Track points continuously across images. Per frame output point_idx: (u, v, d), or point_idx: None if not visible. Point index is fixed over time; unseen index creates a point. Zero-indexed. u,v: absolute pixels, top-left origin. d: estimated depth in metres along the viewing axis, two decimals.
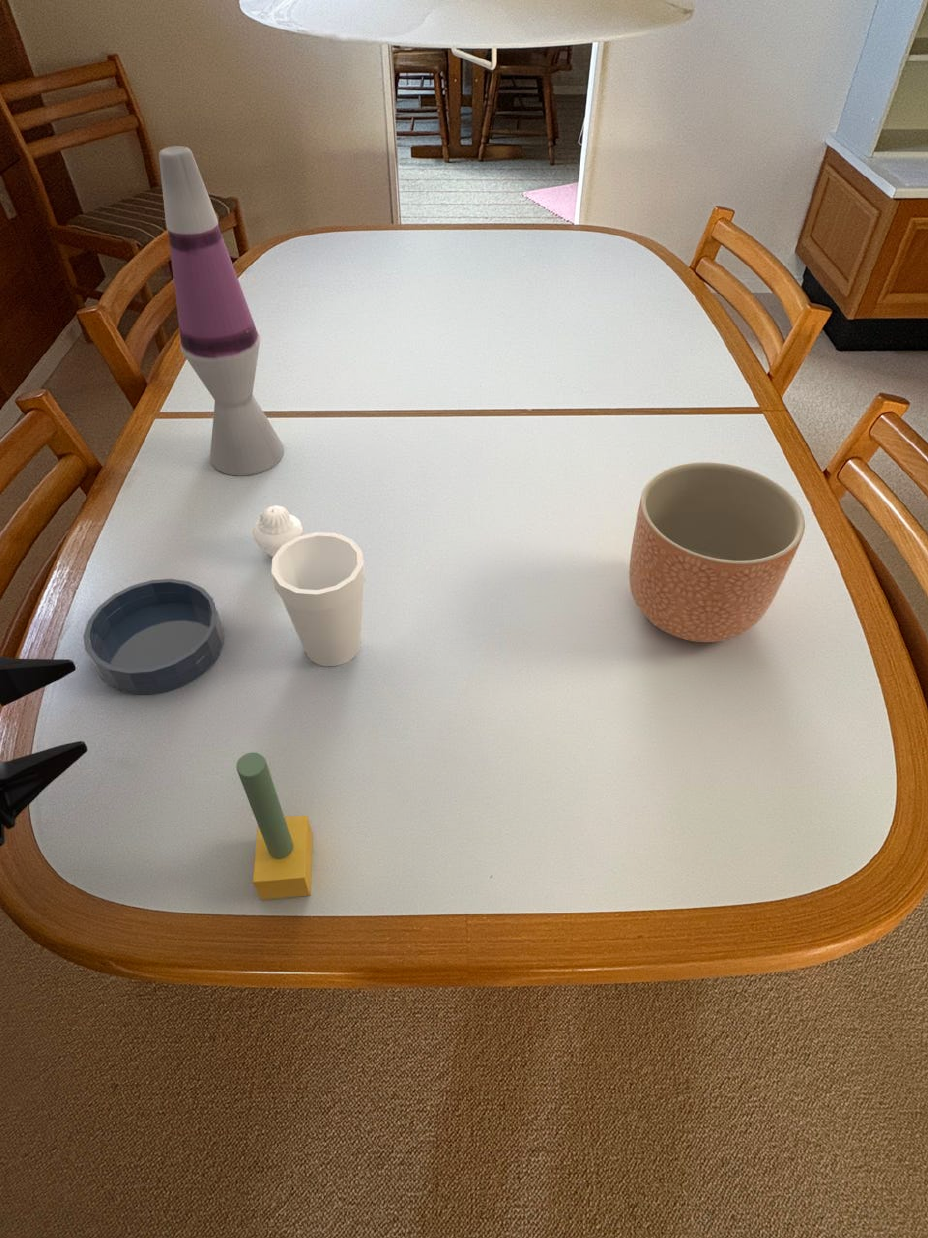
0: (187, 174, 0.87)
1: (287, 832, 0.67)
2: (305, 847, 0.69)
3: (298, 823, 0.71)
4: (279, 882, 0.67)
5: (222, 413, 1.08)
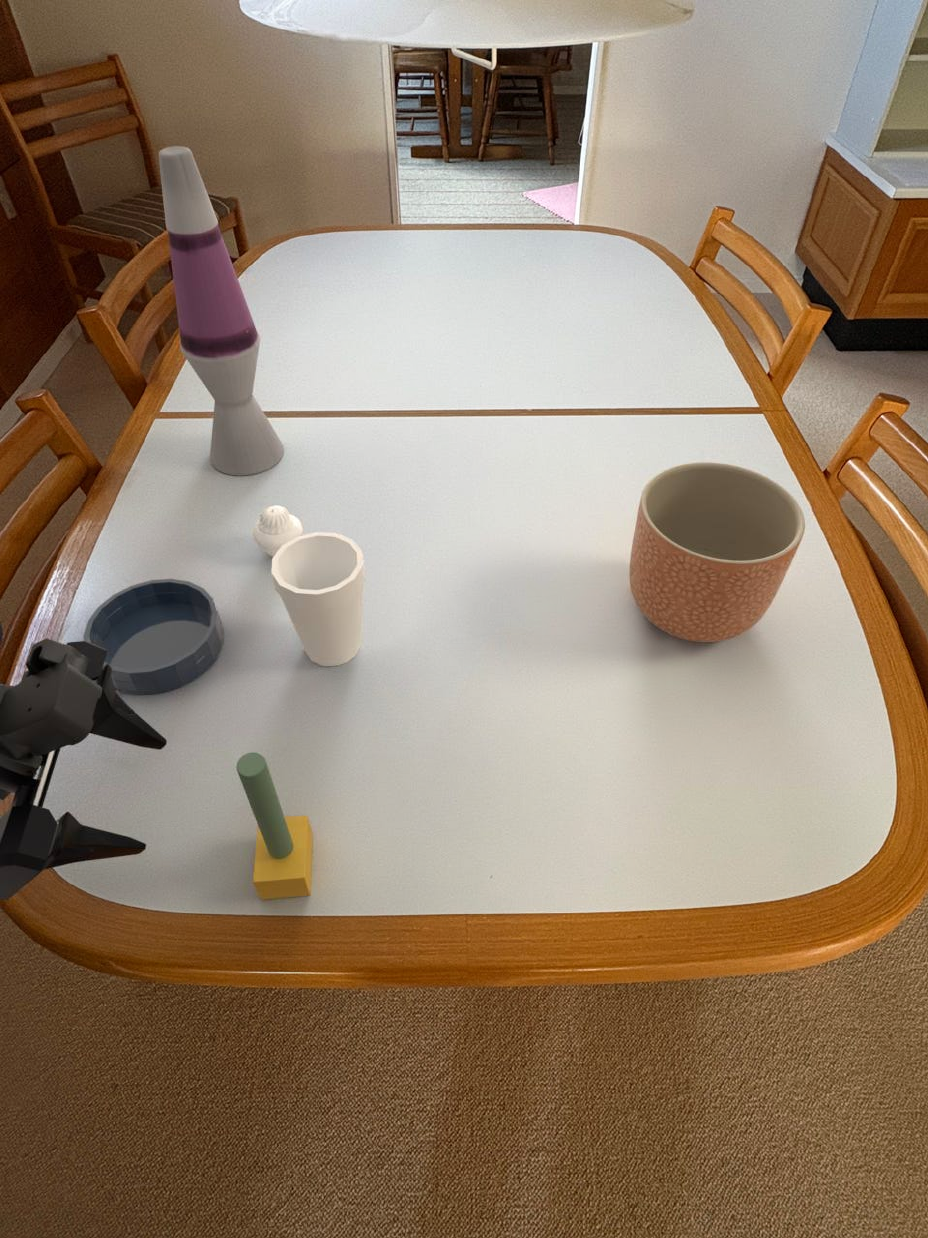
0: (187, 174, 0.87)
1: (287, 832, 0.67)
2: (305, 847, 0.69)
3: (298, 823, 0.71)
4: (279, 882, 0.67)
5: (222, 413, 1.08)
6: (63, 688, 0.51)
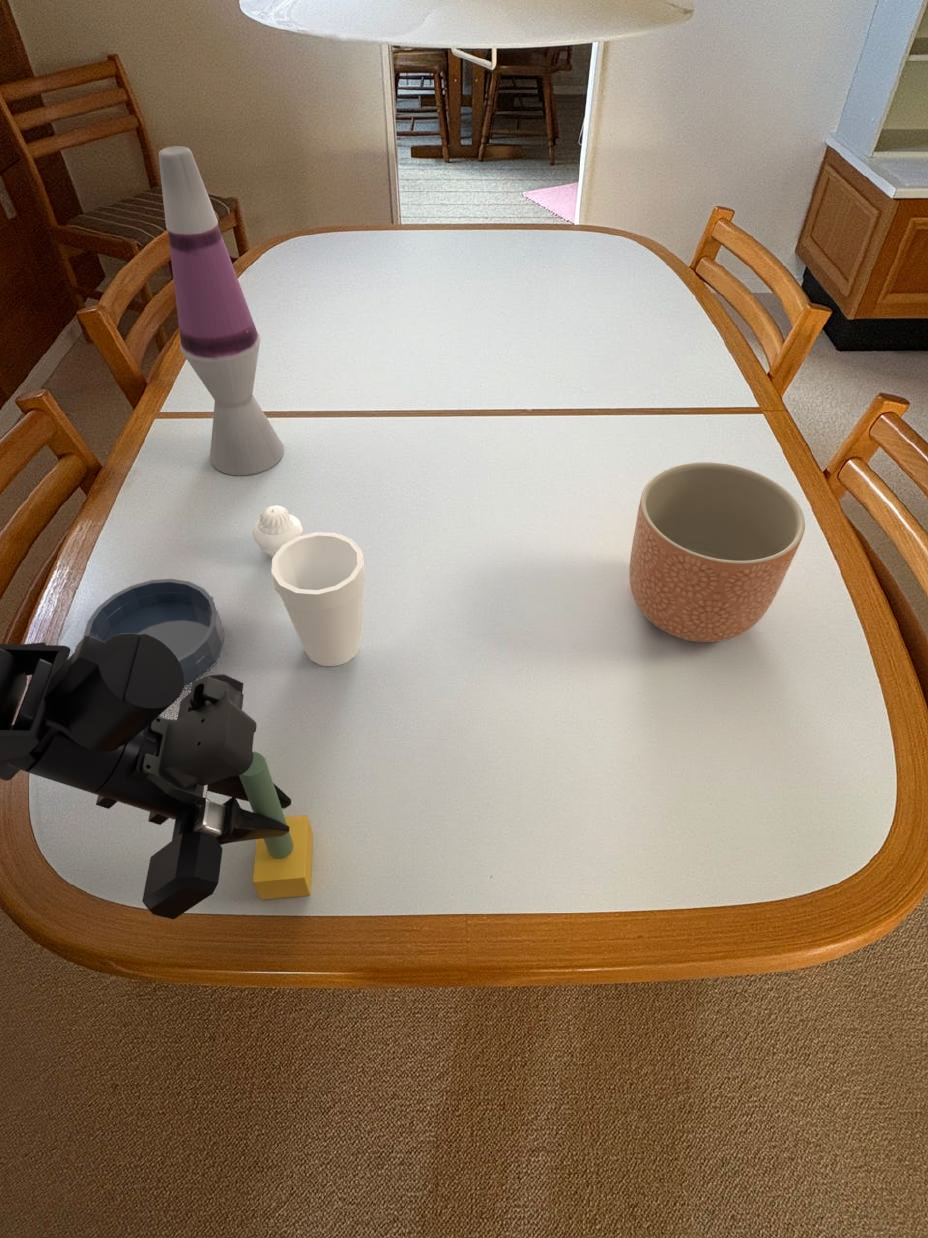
0: (187, 174, 0.87)
1: None
2: (305, 847, 0.69)
3: (298, 823, 0.71)
4: (279, 882, 0.67)
5: (222, 413, 1.08)
6: (229, 724, 0.55)
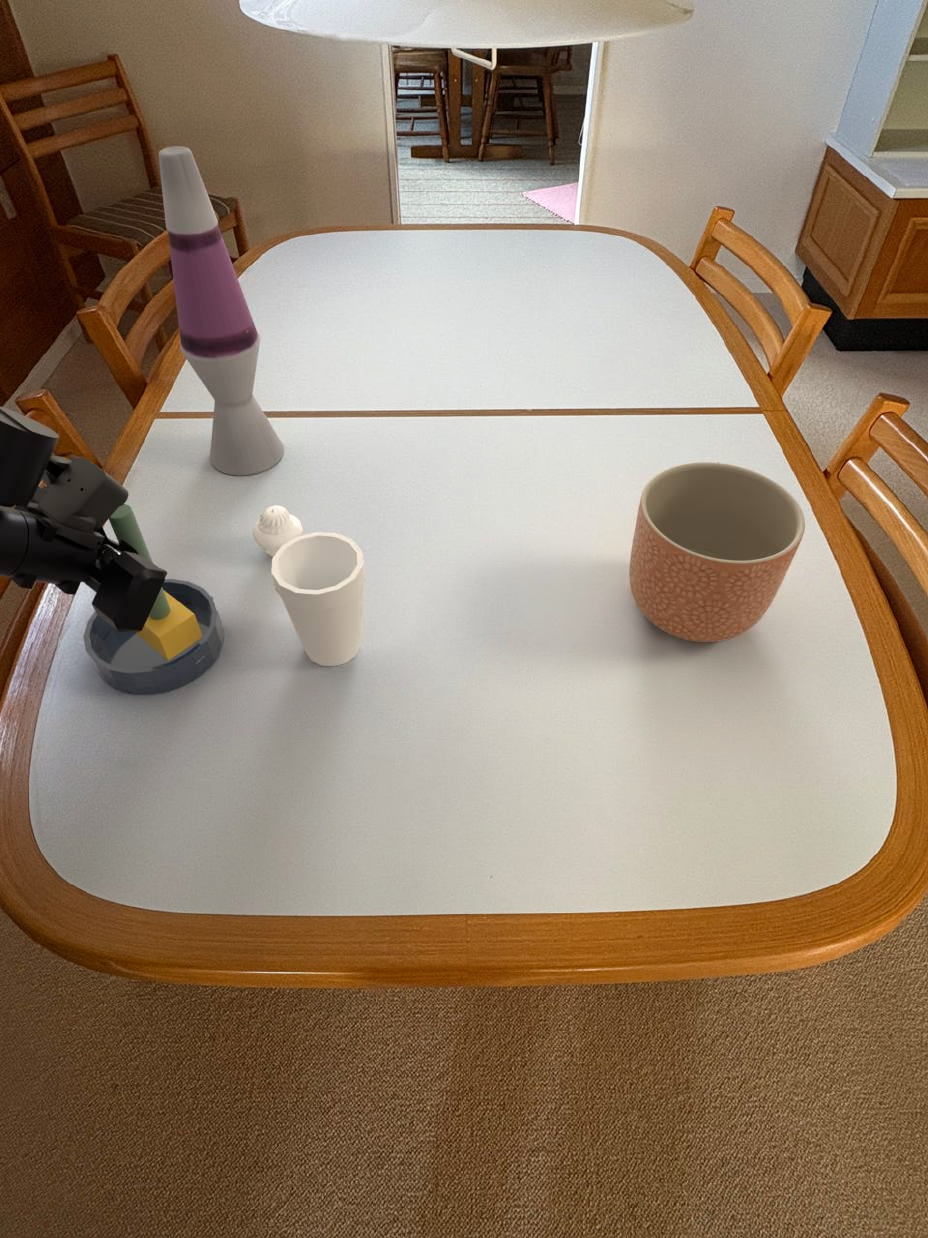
0: (187, 174, 0.87)
1: None
2: (178, 602, 0.83)
3: None
4: (178, 628, 0.81)
5: (222, 413, 1.08)
6: (95, 465, 0.68)
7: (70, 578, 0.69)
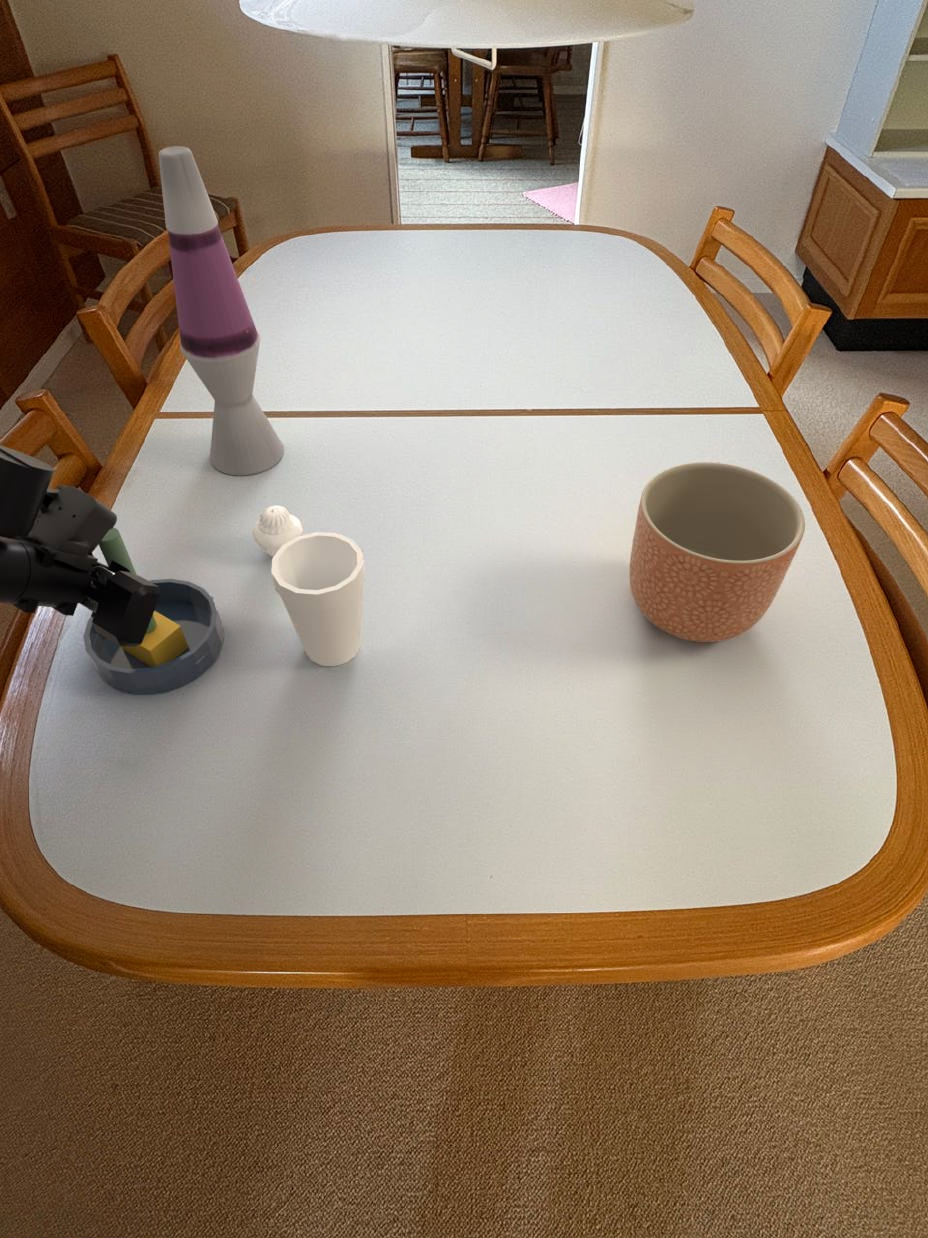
0: (187, 174, 0.87)
1: None
2: (162, 616, 0.88)
3: None
4: (166, 641, 0.86)
5: (222, 413, 1.08)
6: (84, 492, 0.72)
7: (68, 600, 0.73)
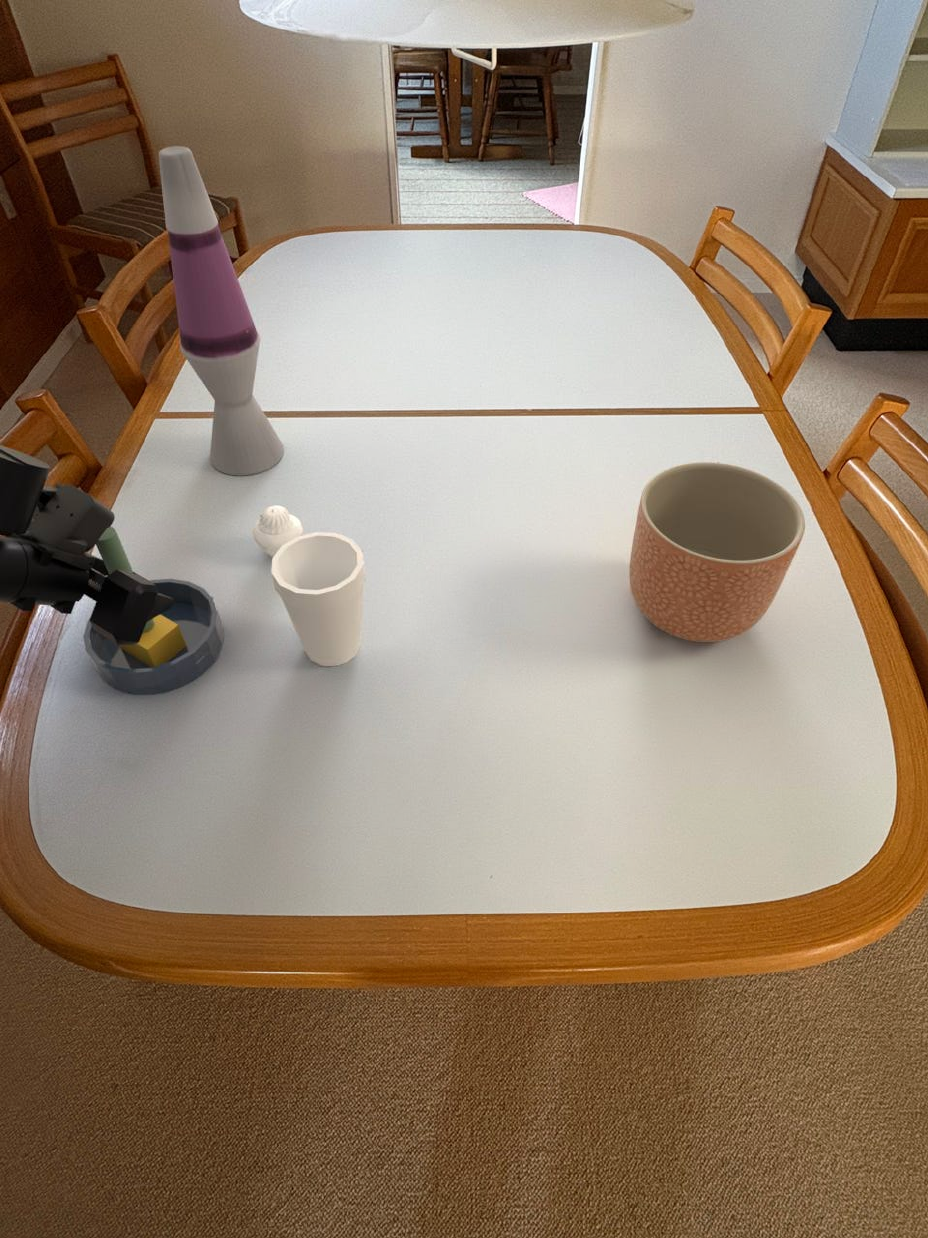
0: (187, 174, 0.87)
1: None
2: (160, 615, 0.88)
3: None
4: (163, 640, 0.86)
5: (222, 413, 1.08)
6: (82, 491, 0.73)
7: (66, 598, 0.73)
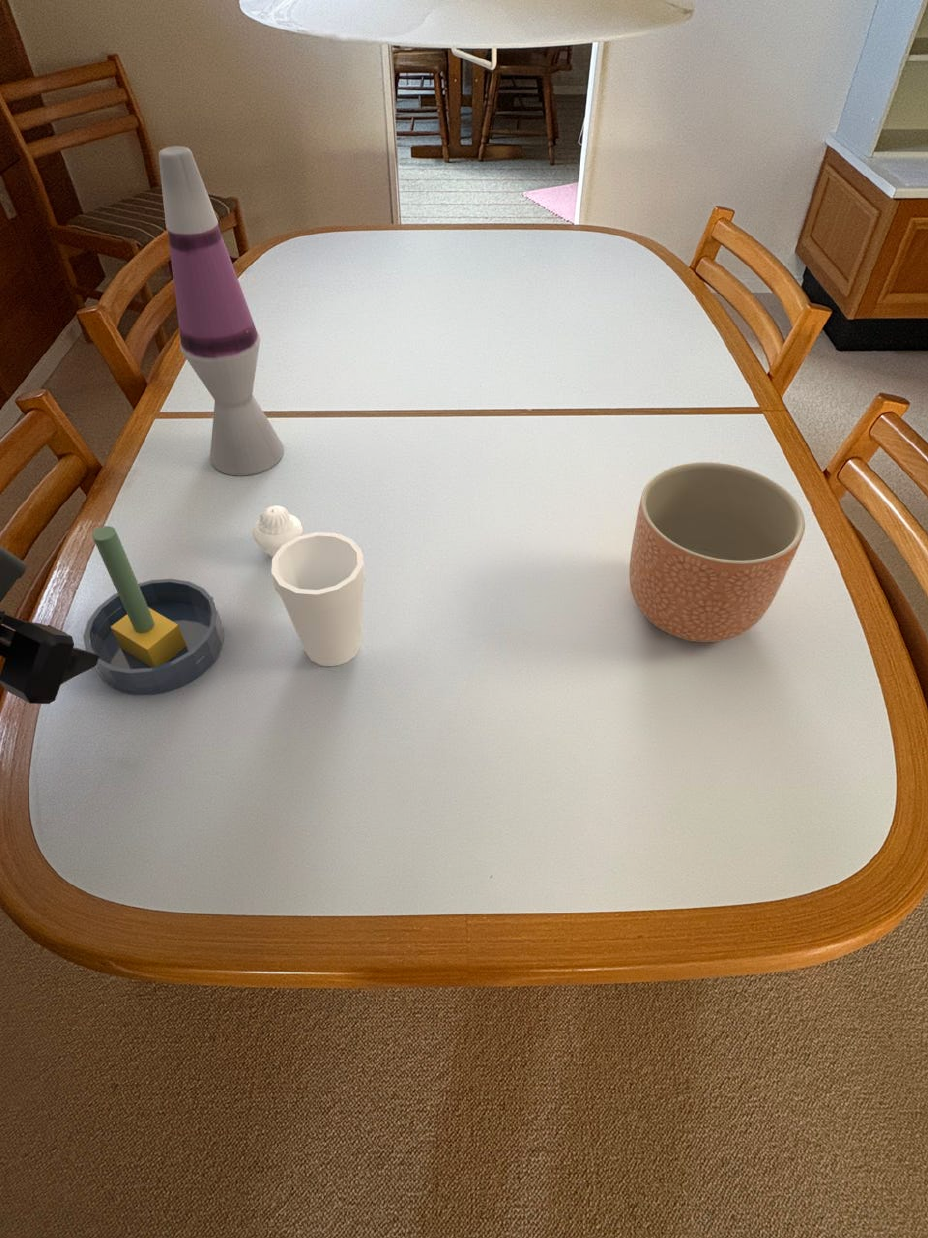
0: (187, 174, 0.87)
1: None
2: (160, 615, 0.88)
3: None
4: (163, 640, 0.86)
5: (222, 413, 1.08)
6: None
7: None
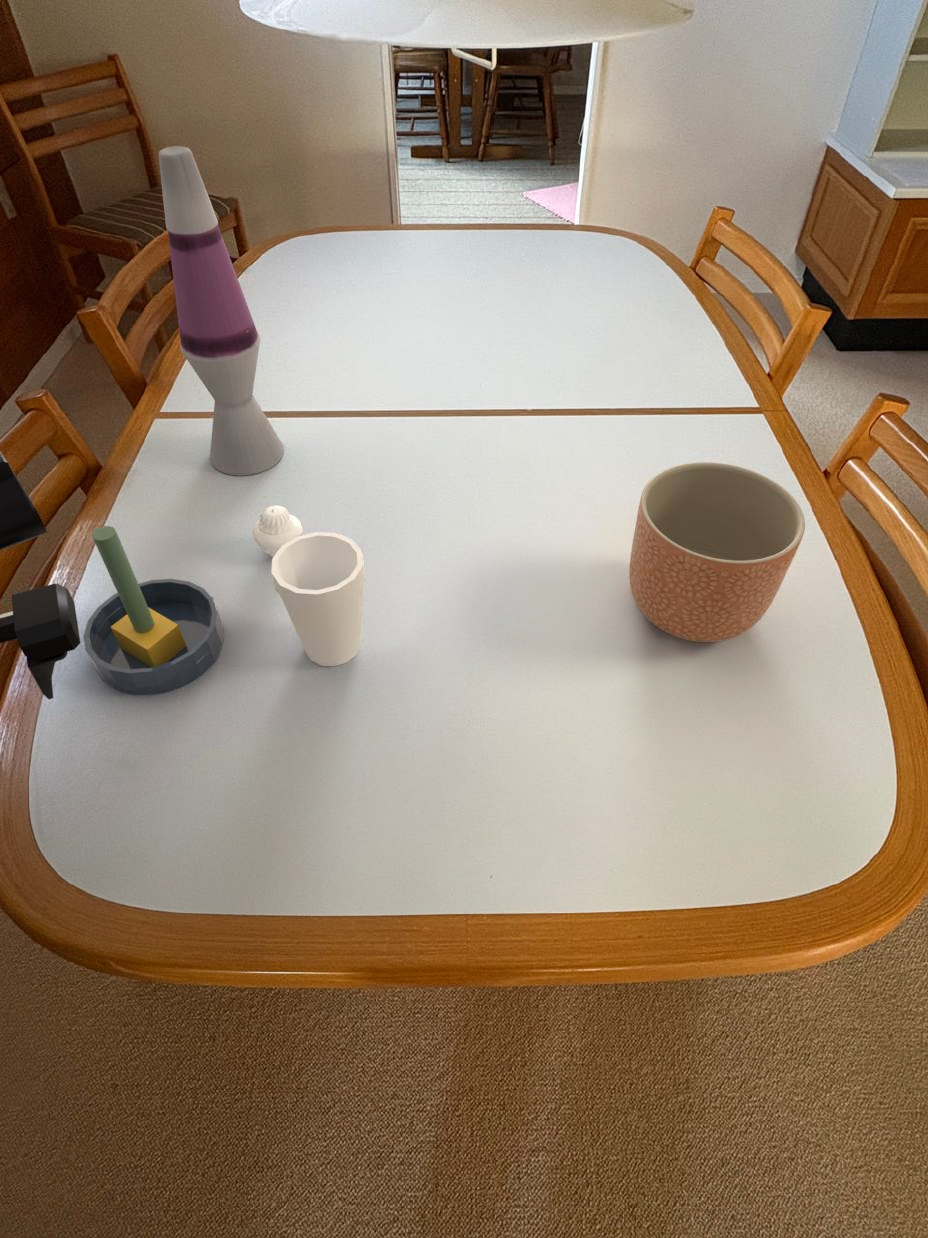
0: (187, 174, 0.87)
1: None
2: (160, 615, 0.88)
3: None
4: (163, 640, 0.86)
5: (222, 413, 1.08)
6: None
7: None
